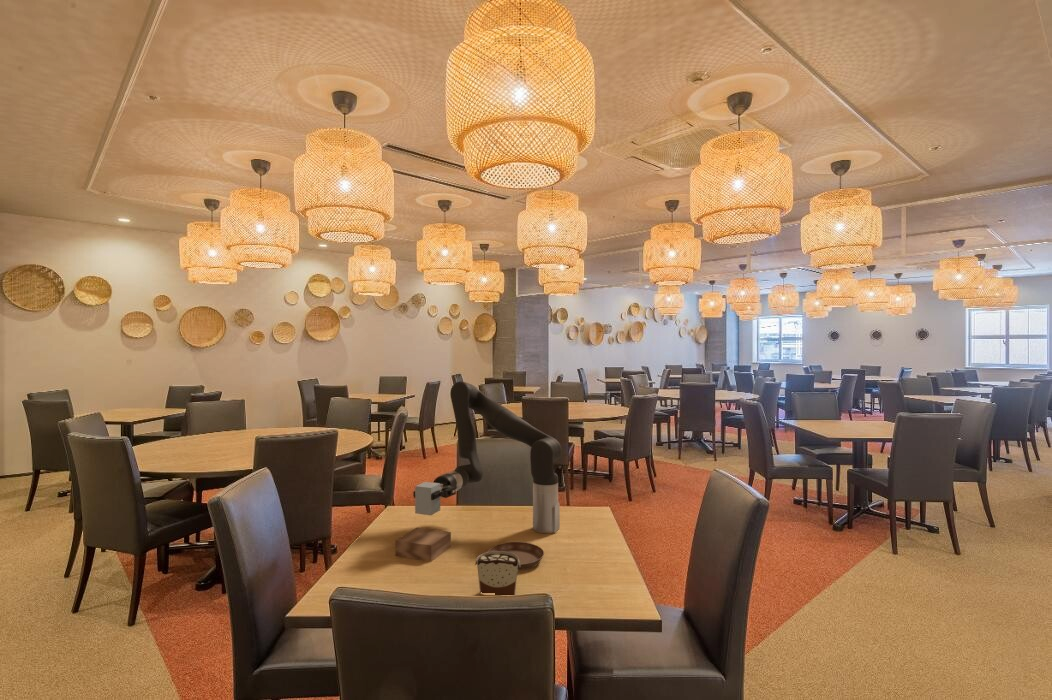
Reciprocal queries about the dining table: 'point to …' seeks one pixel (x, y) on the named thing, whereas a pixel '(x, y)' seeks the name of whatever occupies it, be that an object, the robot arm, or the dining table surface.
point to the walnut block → (423, 544)
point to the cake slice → (497, 572)
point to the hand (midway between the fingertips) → (423, 495)
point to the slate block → (426, 498)
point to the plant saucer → (522, 553)
